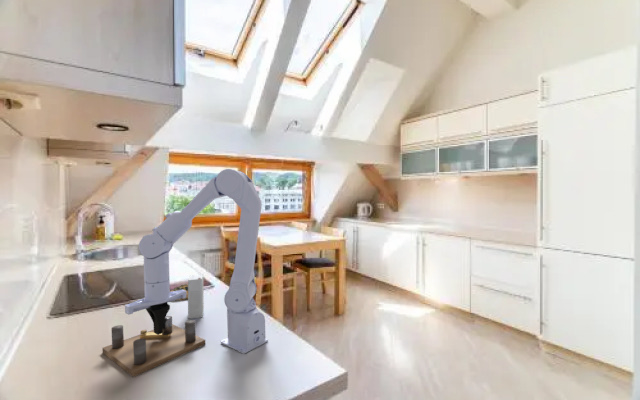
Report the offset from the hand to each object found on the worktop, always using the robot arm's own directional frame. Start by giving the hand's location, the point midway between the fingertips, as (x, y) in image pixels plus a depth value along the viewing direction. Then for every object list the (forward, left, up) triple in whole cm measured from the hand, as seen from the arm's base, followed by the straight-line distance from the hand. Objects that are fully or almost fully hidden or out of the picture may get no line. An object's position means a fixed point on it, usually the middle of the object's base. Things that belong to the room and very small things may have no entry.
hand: (158, 333), depth 81 cm
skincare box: (+9, -16, -3) cm, 19 cm away
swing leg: (+2, 0, -2) cm, 2 cm away
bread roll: (+30, -23, -3) cm, 38 cm away
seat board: (-2, +2, -3) cm, 4 cm away
